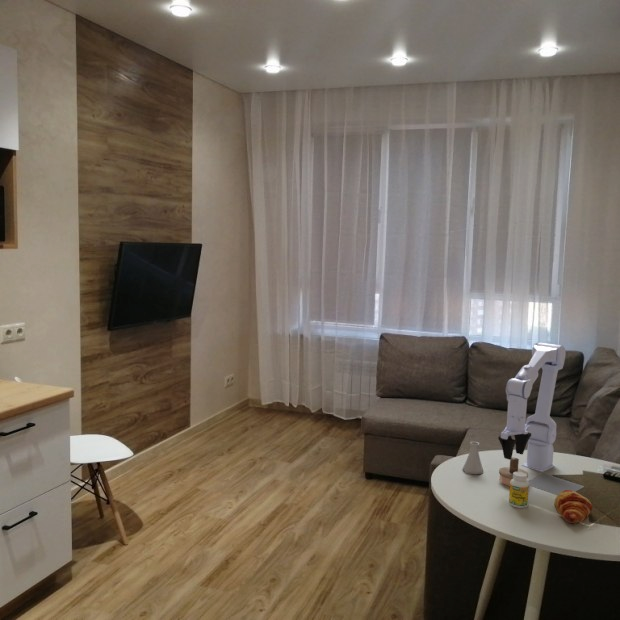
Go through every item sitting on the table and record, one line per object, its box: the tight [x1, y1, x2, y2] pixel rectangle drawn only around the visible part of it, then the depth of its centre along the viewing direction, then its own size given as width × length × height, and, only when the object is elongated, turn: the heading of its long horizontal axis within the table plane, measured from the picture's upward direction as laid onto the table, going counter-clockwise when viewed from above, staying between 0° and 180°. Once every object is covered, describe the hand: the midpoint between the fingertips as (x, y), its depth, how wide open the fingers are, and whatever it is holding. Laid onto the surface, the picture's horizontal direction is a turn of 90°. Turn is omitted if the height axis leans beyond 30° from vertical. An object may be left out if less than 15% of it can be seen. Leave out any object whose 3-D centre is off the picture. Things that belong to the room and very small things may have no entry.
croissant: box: [554, 490, 593, 524], centre depth 179 cm, size 21×10×8 cm, turn 158°
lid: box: [498, 457, 529, 479], centre depth 199 cm, size 9×9×5 cm
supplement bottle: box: [508, 472, 530, 509], centre depth 183 cm, size 5×5×10 cm
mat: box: [527, 473, 585, 496], centre depth 199 cm, size 14×14×1 cm
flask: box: [462, 441, 484, 475], centre depth 209 cm, size 7×7×10 cm
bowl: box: [499, 474, 512, 487], centre depth 200 cm, size 7×7×3 cm
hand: (513, 456), depth 199 cm, fingers open, 7 cm apart
